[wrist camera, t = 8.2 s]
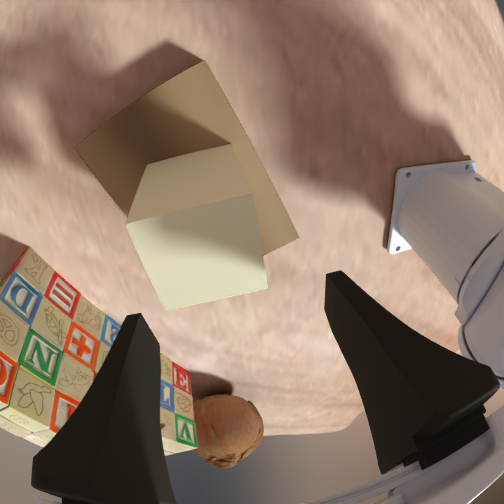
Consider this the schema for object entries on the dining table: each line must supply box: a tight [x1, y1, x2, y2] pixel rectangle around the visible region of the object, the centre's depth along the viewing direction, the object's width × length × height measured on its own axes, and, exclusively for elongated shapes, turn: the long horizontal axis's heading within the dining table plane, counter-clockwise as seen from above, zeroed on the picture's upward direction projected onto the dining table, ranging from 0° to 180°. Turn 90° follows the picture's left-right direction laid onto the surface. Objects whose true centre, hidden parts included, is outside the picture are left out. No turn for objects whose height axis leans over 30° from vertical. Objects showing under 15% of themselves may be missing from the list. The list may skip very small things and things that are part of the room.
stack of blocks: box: [0, 247, 198, 455], centre depth 20 cm, size 21×6×12 cm, turn 30°
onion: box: [192, 392, 264, 468], centre depth 31 cm, size 10×9×10 cm
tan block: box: [75, 60, 299, 256], centre depth 17 cm, size 8×12×3 cm, turn 26°
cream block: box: [125, 144, 268, 311], centre depth 14 cm, size 4×4×6 cm
